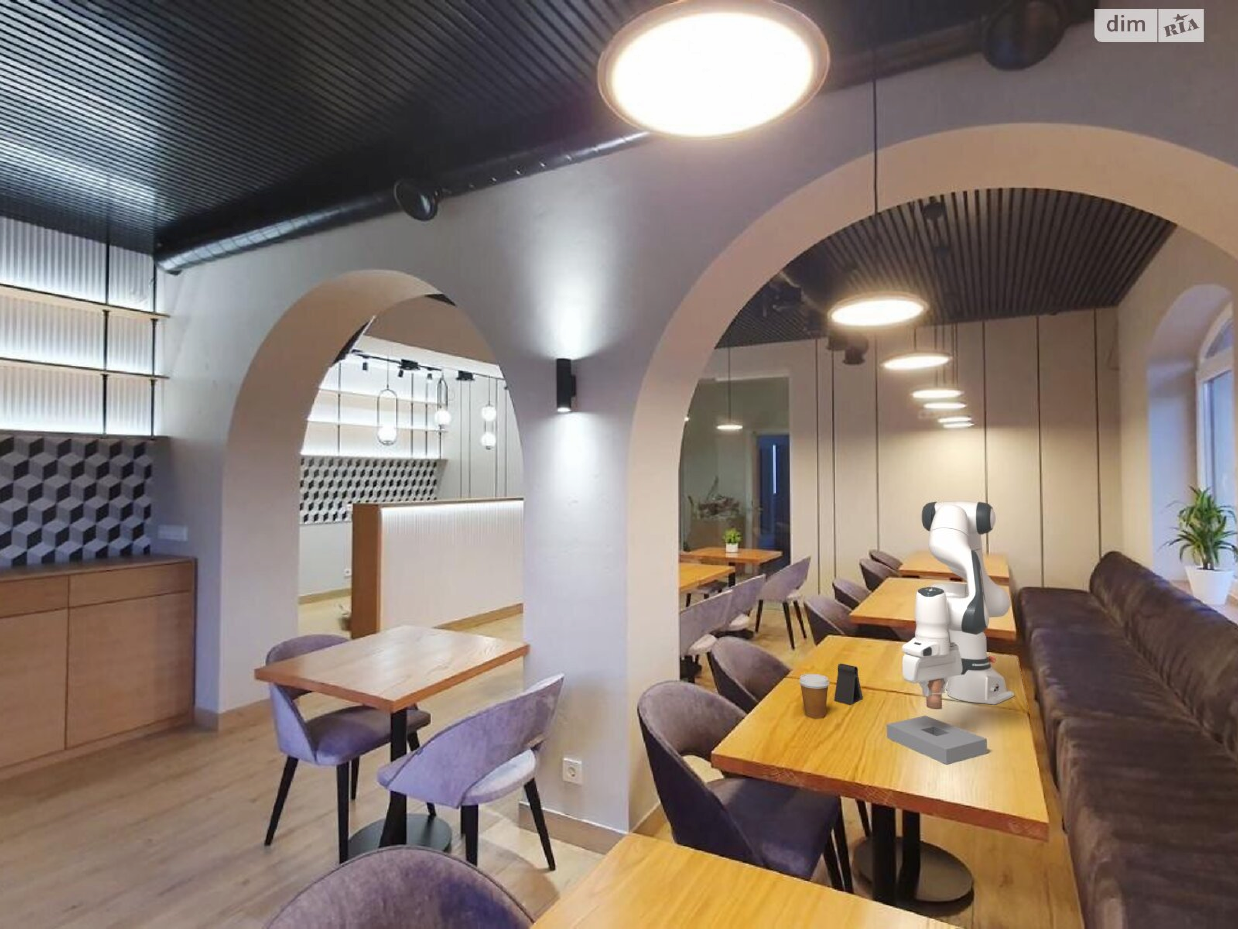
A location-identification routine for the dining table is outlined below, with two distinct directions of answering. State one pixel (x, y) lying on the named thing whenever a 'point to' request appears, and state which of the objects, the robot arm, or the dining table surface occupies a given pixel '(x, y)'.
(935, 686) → the terracotta peg
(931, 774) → the dining table surface
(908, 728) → the gray board
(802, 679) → the disposable coffee cup
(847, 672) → the phone stand
